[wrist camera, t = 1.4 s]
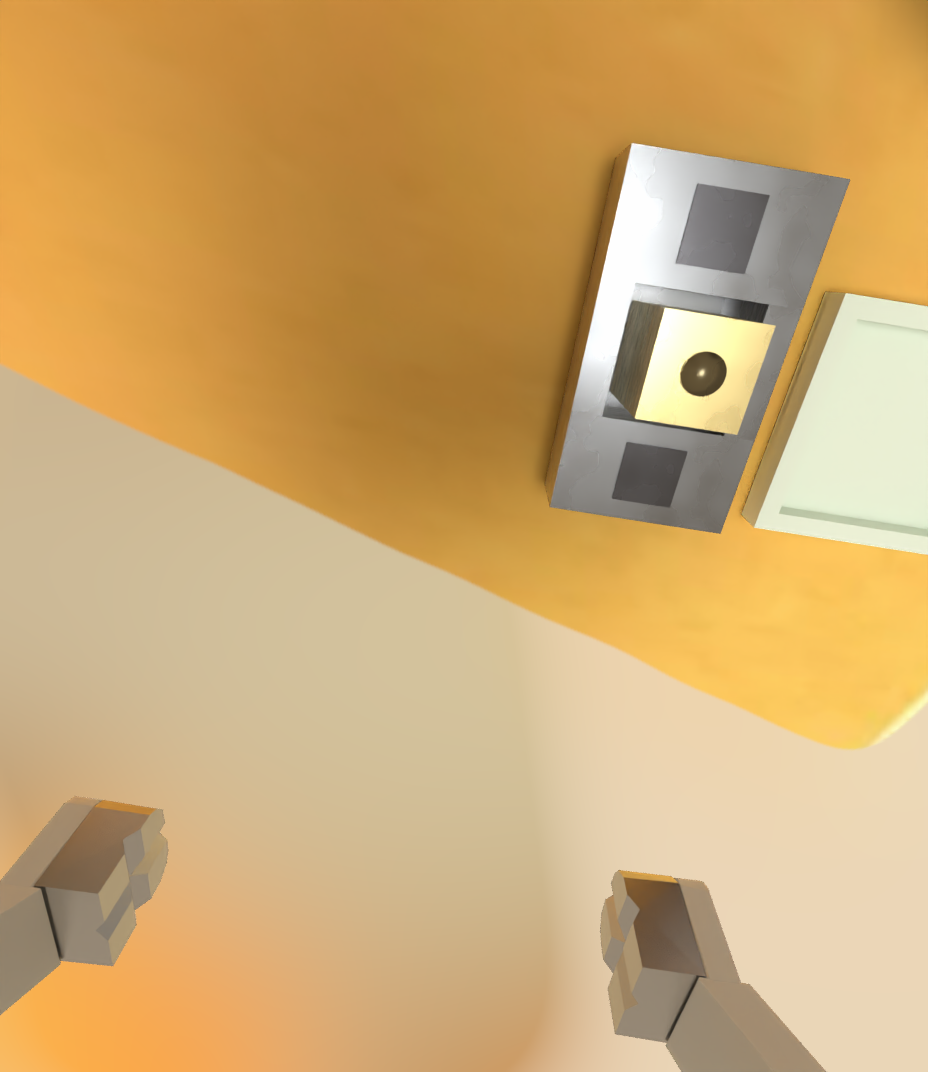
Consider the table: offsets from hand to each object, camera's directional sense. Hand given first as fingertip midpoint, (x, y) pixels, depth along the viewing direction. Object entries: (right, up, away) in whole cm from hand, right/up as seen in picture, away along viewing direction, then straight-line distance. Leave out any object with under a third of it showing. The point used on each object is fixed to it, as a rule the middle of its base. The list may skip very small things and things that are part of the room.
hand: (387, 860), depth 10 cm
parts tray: (+24, +12, +21) cm, 34 cm away
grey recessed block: (+12, +15, +20) cm, 28 cm away
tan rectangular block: (+12, +15, +19) cm, 27 cm away
